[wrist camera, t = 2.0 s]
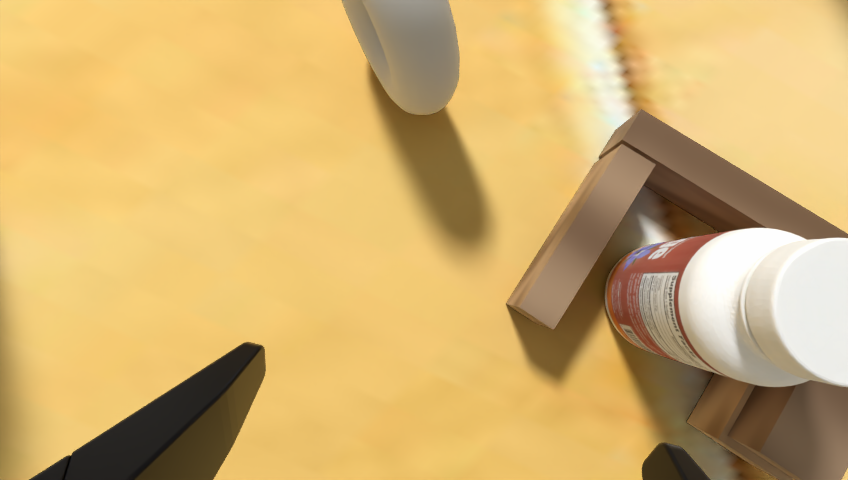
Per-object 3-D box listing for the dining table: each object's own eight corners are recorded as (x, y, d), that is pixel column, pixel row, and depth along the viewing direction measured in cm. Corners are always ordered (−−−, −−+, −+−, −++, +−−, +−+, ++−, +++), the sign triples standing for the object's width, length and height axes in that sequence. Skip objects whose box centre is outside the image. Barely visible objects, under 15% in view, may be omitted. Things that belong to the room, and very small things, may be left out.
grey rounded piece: (463, 125, 25) (487, 20, 15) (413, 151, 25) (404, 63, 15) (387, -8, 26) (363, -191, 16) (339, 16, 26) (283, -153, 16)
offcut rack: (749, 463, 23) (829, 508, 18) (505, 303, 24) (524, 308, 19) (852, 275, 24) (952, 273, 19) (615, 130, 25) (657, 96, 20)
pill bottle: (702, 244, 24) (939, 211, 13) (711, 351, 23) (968, 413, 12) (597, 245, 24) (742, 214, 13) (603, 352, 23) (761, 415, 12)
